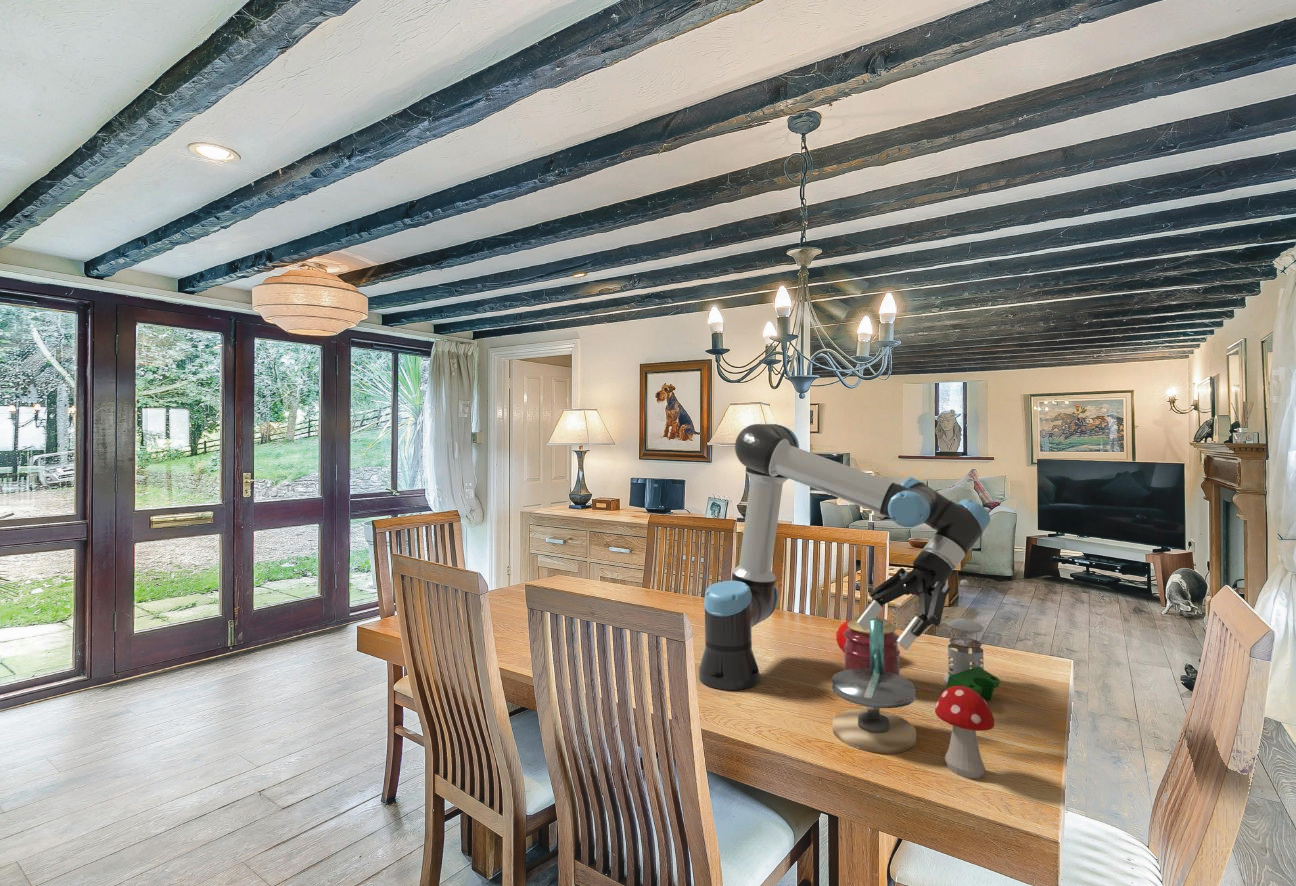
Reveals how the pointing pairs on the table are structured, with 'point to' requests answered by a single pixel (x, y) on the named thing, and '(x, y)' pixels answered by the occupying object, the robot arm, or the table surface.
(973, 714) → the decorative mushroom
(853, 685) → the crank wheel
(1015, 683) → the table surface
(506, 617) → the table surface
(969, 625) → the french press
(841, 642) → the tomato
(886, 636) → the canister
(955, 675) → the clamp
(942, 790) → the table surface
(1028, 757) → the table surface
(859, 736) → the cylinder
